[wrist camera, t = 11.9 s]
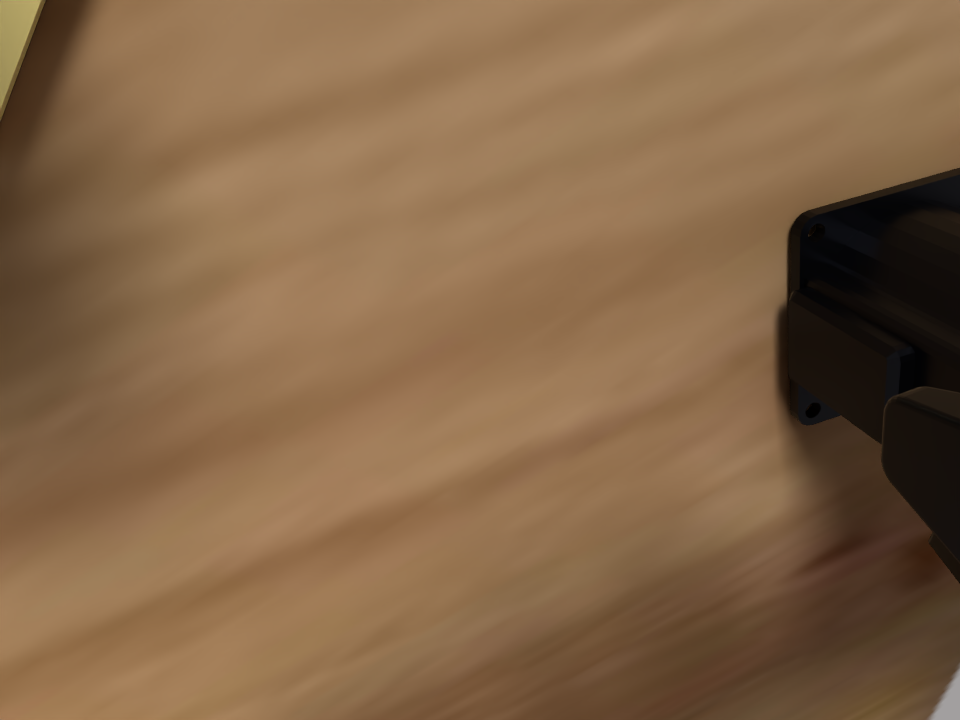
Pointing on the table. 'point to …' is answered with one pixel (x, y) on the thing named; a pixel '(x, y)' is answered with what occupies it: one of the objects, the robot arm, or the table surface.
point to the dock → (15, 40)
